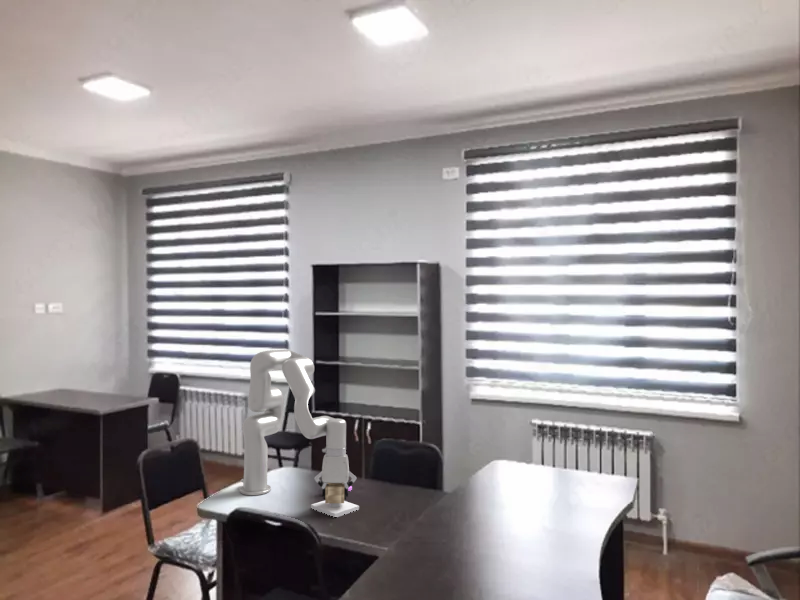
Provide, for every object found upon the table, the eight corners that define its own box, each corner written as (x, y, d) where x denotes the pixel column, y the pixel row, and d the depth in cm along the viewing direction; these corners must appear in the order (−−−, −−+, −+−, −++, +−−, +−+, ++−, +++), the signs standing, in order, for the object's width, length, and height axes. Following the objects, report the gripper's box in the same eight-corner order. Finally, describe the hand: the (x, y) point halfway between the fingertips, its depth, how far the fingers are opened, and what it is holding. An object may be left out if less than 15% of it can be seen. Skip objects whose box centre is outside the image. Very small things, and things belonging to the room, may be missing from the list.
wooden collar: (325, 503, 212) (325, 487, 212) (326, 497, 219) (327, 481, 219) (343, 503, 212) (344, 487, 213) (344, 497, 219) (345, 481, 220)
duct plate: (310, 508, 216) (311, 490, 216) (334, 501, 225) (335, 483, 225) (335, 517, 207) (335, 498, 207) (359, 509, 216) (359, 491, 216)
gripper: (312, 454, 212) (311, 501, 212) (358, 454, 213) (357, 501, 213) (314, 449, 220) (313, 495, 219) (358, 449, 220) (358, 495, 220)
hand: (335, 498), depth 216 cm, fingers closed on wooden collar, 7 cm apart
